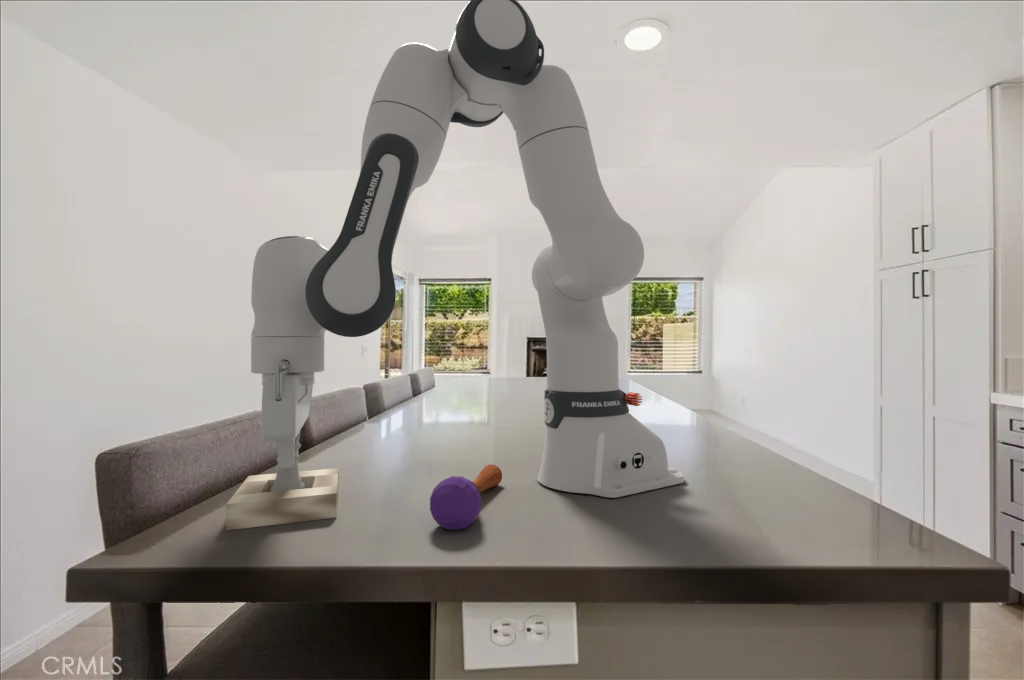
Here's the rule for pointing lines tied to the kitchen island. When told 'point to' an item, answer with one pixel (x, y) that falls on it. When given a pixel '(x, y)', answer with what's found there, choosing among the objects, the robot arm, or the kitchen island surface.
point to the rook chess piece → (288, 475)
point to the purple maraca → (461, 498)
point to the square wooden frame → (283, 500)
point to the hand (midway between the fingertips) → (288, 463)
